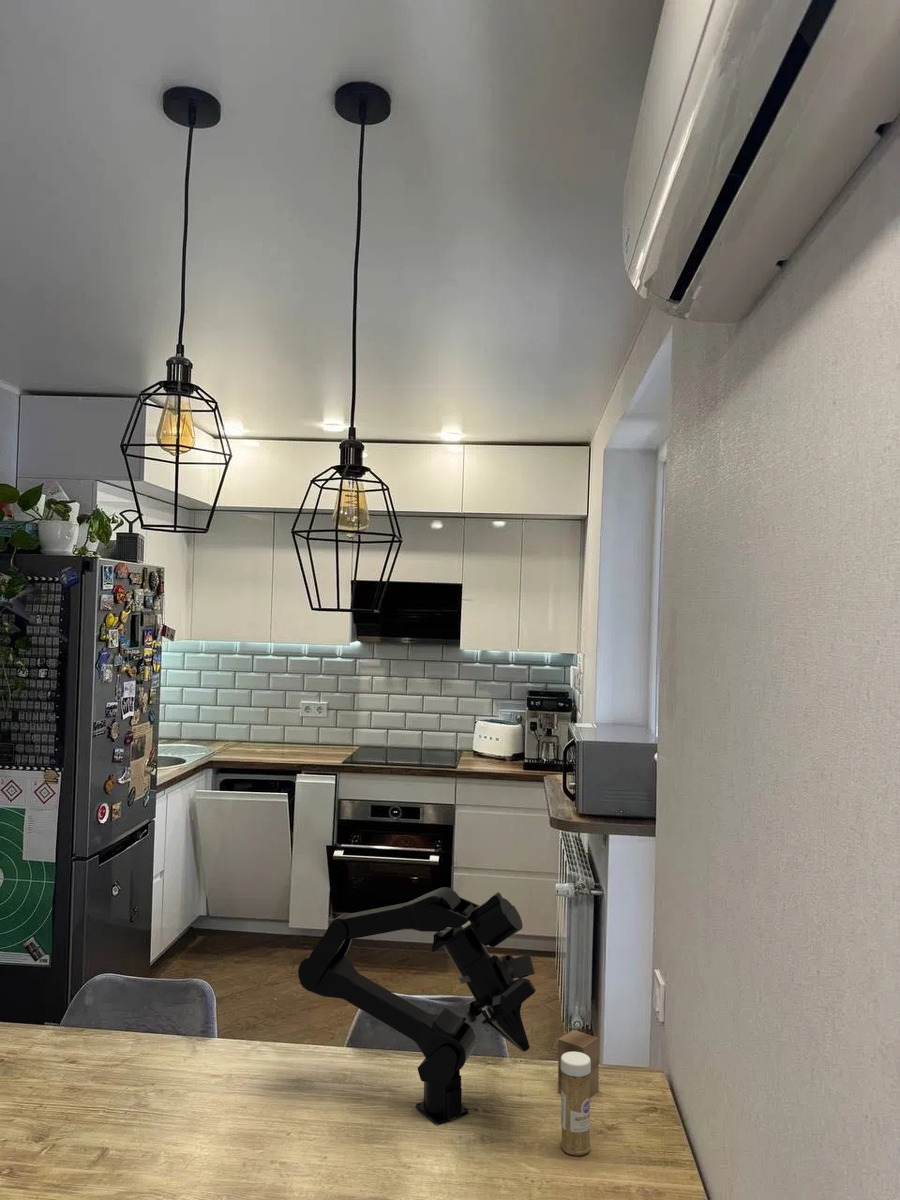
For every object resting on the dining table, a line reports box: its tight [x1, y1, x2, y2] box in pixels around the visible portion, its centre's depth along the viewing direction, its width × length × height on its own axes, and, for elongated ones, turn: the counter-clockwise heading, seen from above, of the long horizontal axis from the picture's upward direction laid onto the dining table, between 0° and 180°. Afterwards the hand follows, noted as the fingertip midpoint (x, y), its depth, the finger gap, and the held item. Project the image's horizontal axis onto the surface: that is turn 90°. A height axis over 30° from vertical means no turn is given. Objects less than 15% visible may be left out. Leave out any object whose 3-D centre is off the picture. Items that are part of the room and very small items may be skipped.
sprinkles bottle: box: [560, 1052, 591, 1156], centre depth 129 cm, size 5×5×14 cm
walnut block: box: [557, 1029, 600, 1099], centre depth 146 cm, size 5×5×9 cm
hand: (526, 1049), depth 135 cm, fingers closed
